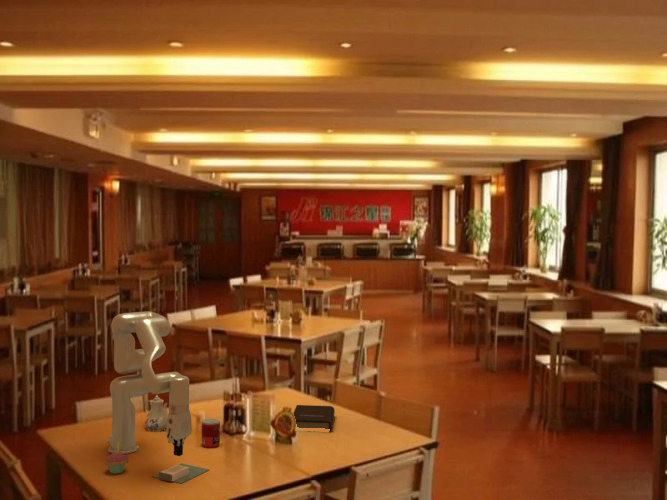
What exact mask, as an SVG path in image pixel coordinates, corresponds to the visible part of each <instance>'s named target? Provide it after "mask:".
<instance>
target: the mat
mask: <svg viewBox="0 0 667 500" xmlns="http://www.w3.org/2000/svg"><path fill="white" fill-rule="evenodd" d="M178 465H181V466H186V467H189V474H187V475H185V476H183V477H181V478H179V479H177V480H175V481H172V482H171V483H176V484H179V485H180V484H181V485H182V484H184V483H186V482H188V481H190V480H193V479H194V478H196V477H198V476H201V475H203V474H205V473H207V472H209V471H210V469H208V468H204V467H199V466H196V465H195V466H194V465H190V464H186V463H179V464H178ZM152 478H154V479H155V478H156V479H159V473H156V474H154V475H152Z"/></svg>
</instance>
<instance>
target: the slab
mask: <svg viewBox="0 0 667 500" xmlns="http://www.w3.org/2000/svg"><path fill="white" fill-rule="evenodd" d="M187 474H189V467H186V466H181V465H179V464H175V465H173V466H170V467H168V468H165V469H163V470H161V471H159V478H158V479H159V480H162V481H167V482H171V483H173V482H172V481H175V480H177V479H179V478H181V477H183V476H185V475H187Z"/></svg>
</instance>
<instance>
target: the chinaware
mask: <svg viewBox="0 0 667 500" xmlns="http://www.w3.org/2000/svg"><path fill="white" fill-rule="evenodd" d="M164 401H165V400H164V399H161V397H159V395H158V394H155V397H154V398H153V399H150V400H147V401H145V402H144V411H145V412H146V416H147V418H146V419H145V421H144V426H146V428H147V431H149V432H161V431H165V430H167V419H168V414H169V411H168V407H167V405H168V402H164ZM148 403H149V406H150V410H149V411H148V409H147V404H148Z"/></svg>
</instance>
